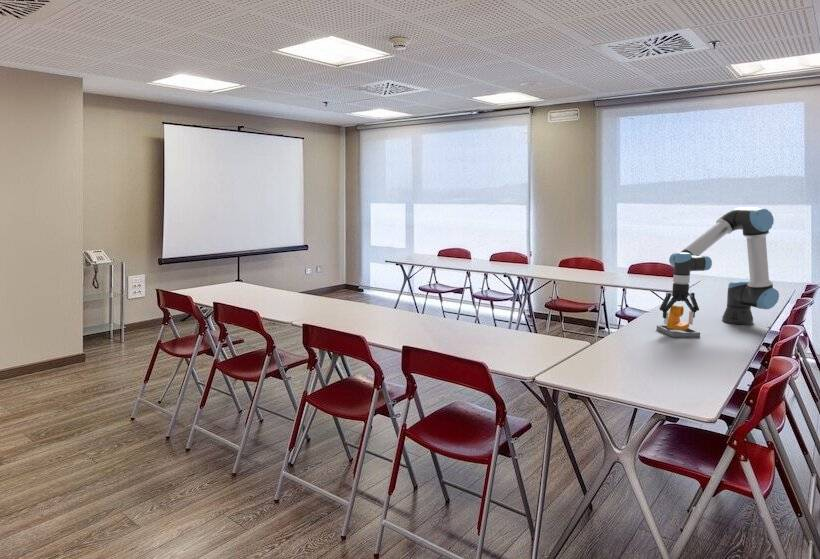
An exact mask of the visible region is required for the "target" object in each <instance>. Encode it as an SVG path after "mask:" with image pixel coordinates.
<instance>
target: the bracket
mask: <svg viewBox="0 0 820 559" xmlns="http://www.w3.org/2000/svg"><path fill="white" fill-rule="evenodd" d="M684 309H685V308H684V305H678V304H677V305H676V304H673V305H672V307H671V308H670V309H669V315H668V325H667V328H669V329H675V330H681V331H684V330H687V329H688V327H689V328H690V324H689V322H685V321H681V320H680V317H682V316H683V315H684V311H685V310H684Z"/></svg>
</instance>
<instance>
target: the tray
mask: <svg viewBox="0 0 820 559" xmlns="http://www.w3.org/2000/svg"><path fill="white" fill-rule="evenodd" d="M656 331H658V332H660V333H662V334H665V335H666V336H668V337H670V338H672V339H678V338H679V339H681V338H683V339H684V338H685V339H688V338H690V339H691V338H700V337H701V332H700V331H697V330H696V329H693V328H691V327H690V326H689V327H688V329H687V330H684V331H681V330H675V329H669V328H667V325H665V324H658V325H656Z"/></svg>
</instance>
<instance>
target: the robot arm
mask: <svg viewBox="0 0 820 559" xmlns="http://www.w3.org/2000/svg"><path fill="white" fill-rule="evenodd" d="M774 221H775V220H774V216H773V214H772V211H770V210H768V209H767V208H761V207H737V208H734V209H732V210H730V211H729V212H727V213H724V214H723V215H722V216H721V217H719V218H718V219H717V220H716V221H715V224H714V225H713V226H711V227H710V228H709V229H707V230H706V231H704V233H702V234H701V235H699V237H697V238H696V239H695V240H694V241H693V242H691V243H690V244H689V245H687V246H686V247H685V248H684V249H683V250H681V251H679V252H674V253H672V254H671V255H670V256H669V258H668V262H669V264H670V265H671V266H672V267H673V277H672V278H673V280H672V282H673V283H672V292H669V291H668V292H665V297H664V299H663V301H662V302H661V304H660V306H659V308H658V309H659V310H660V311H662V318H663V325H668V318H669V313H670V308H671V307H672V305H675V303H677V302H684V303H685V304H686V305H687V307H688V308H689V311H688V312H689V313H688V323H689V325H691V326H692V325H693V324H694V319H695V316H696V313H697V311H700V308H699V305H698V302H697V299H696V297H695V296H696V295H695V294H696V293H695V292H693V291H690V284H689V283H690V282H691V281H690V279H691V276H690V275H691V272H704V271H705V272H706V271H709V270H710V269H711V268H712V267H713V266H712V265H713V261H712V258H710V256H708V255H702V254H703V253H704V252H705V251H707V250H708V249H709V248H711V247H712V246H713V245H715V244H716V243H717V242H718V241H719V240H721V239H722V238H724V236H726V235H729V234H731V233H732V232H734V231H738V230H741V231H742V235H743V236H744V237H745V238H746V246H747V248H746V249H747V259H748V271H749V280H744V281H743V280H742V281H741V280H740V281H735V280H734V281H731V282H729V283H728V287H727V299H726V308H725V310H724V312H723V315H722V317H721V318H722V319H721V321H722V322H724V323H728V324H732V325H734V324H735V325H741V326H742V325H744V326H745V325H752V324H754V317H753V314H752V309H751V307H752V308H757V309H760V310H770V309H772V308H774V307H775V306H776V304H777V303H778V301H779V298H780V294H779V291H778V290H777V289H776V288H774V286H773V281H771V280H770V277H769V275H770V274H769V265H768V264H769V262H768V250H767V235H768V234H769V233H770V230H771V229H772V227H773V225H774ZM689 291H690V292H689ZM688 297H689V298H690V299H688Z"/></svg>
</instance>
